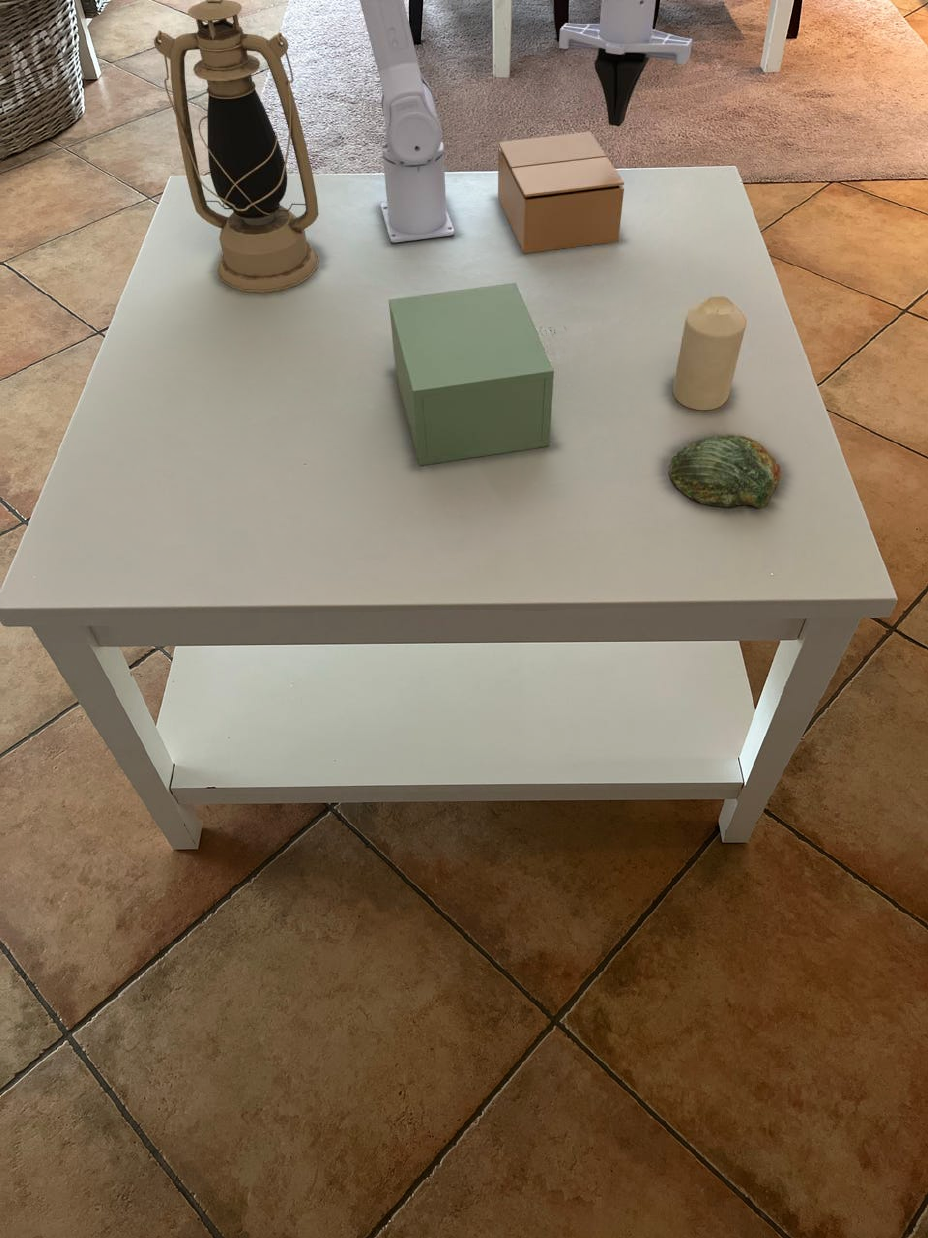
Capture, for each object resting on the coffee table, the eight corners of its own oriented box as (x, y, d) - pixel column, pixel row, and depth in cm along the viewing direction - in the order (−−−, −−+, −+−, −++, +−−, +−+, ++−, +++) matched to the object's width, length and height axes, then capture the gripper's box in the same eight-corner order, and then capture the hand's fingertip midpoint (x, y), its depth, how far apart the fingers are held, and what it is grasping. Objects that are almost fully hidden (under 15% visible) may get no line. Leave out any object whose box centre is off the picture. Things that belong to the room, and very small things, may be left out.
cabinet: (395, 373, 95) (388, 299, 88) (514, 357, 96) (515, 282, 89) (419, 466, 86) (412, 391, 79) (549, 446, 87) (554, 370, 80)
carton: (618, 241, 110) (624, 182, 105) (523, 253, 109) (524, 194, 103) (586, 187, 119) (590, 130, 113) (497, 198, 117) (498, 141, 112)
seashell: (748, 393, 84) (815, 459, 79) (741, 427, 88) (805, 493, 82) (653, 430, 83) (714, 500, 77) (650, 463, 86) (709, 533, 80)
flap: (624, 184, 105) (624, 182, 105) (525, 197, 104) (525, 194, 103) (606, 159, 109) (607, 156, 109) (511, 170, 108) (511, 167, 108)
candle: (727, 413, 89) (749, 324, 82) (670, 407, 90) (687, 318, 82) (729, 379, 93) (750, 290, 85) (674, 374, 93) (690, 285, 86)
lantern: (194, 289, 106) (108, -12, 82) (223, 236, 113) (152, -54, 90) (316, 295, 104) (265, -10, 81) (337, 241, 112) (296, -53, 88)
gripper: (552, -9, 96) (546, 126, 107) (687, 7, 92) (667, 145, 103) (574, -30, 100) (566, 102, 111) (704, -16, 96) (684, 120, 107)
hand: (616, 121), depth 107 cm, fingers closed
